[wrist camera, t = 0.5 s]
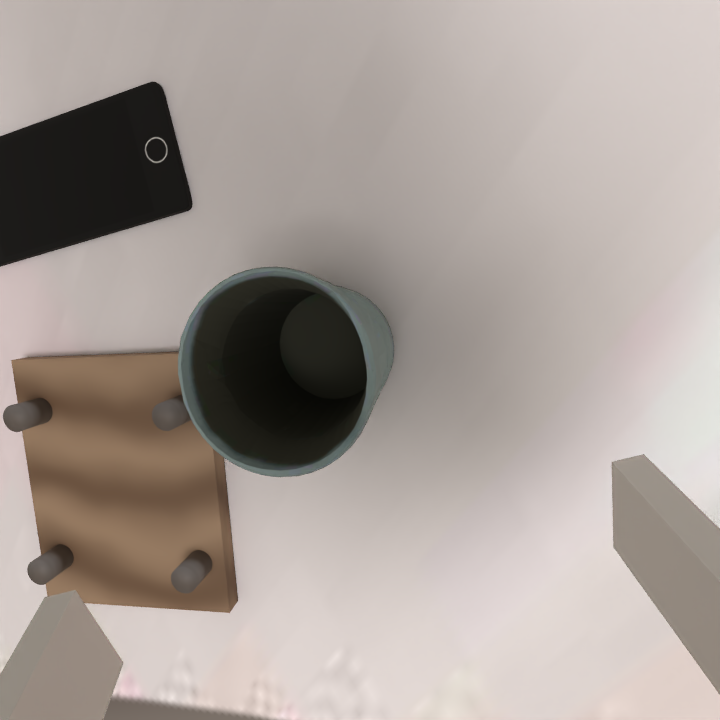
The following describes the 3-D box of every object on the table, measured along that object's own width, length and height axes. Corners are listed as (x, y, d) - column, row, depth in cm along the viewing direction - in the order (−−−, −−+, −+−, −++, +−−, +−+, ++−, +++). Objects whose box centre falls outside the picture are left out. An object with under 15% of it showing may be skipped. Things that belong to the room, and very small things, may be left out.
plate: (27, 357, 41) (-17, 364, 37) (213, 350, 38) (185, 357, 34) (62, 589, 43) (24, 619, 39) (237, 600, 40) (215, 633, 36)
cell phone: (197, 209, 37) (190, 207, 36) (-5, 269, 40) (-15, 268, 40) (164, 84, 36) (157, 78, 35) (-38, 156, 40) (-50, 153, 39)
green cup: (349, 443, 37) (298, 517, 25) (238, 360, 37) (139, 395, 26) (432, 329, 34) (420, 352, 23) (313, 243, 35) (241, 223, 23)
